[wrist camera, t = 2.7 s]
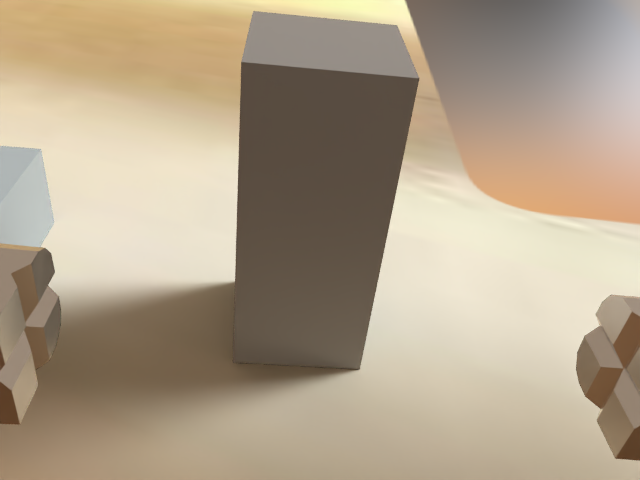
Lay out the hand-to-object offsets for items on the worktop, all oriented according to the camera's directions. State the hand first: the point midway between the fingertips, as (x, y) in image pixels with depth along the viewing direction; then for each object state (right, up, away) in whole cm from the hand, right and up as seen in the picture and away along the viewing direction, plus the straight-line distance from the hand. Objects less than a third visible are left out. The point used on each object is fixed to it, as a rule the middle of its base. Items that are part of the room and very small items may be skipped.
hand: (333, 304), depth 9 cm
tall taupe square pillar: (-1, -3, +17) cm, 17 cm away
